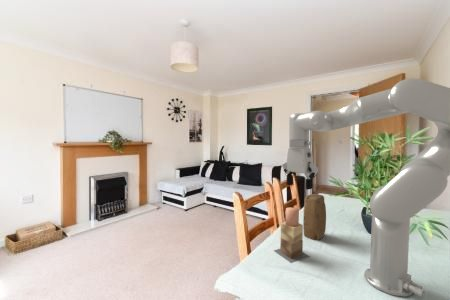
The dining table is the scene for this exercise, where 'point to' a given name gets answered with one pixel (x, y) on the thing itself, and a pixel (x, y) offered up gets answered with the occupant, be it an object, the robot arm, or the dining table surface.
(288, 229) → the tower top
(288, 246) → the block
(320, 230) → the block
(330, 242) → the dining table surface
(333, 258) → the dining table surface
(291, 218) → the peach egg-shaped pebble
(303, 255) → the mat
